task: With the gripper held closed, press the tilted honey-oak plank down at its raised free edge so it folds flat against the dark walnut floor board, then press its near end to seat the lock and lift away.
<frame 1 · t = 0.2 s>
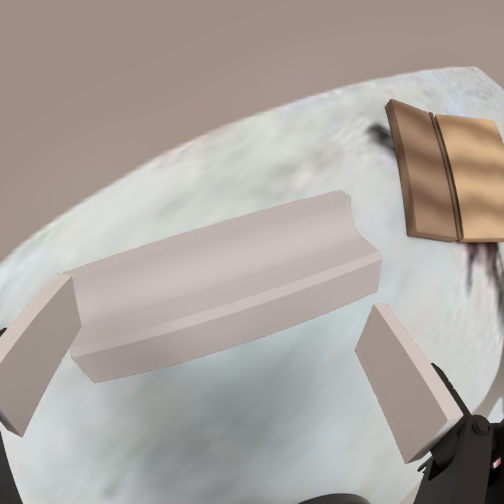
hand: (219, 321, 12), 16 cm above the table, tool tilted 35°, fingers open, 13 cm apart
oak plank: (482, 174, 31), point 4 cm above the table, hinge at 25.0°
crown molding: (220, 288, 28), on the table
walnut floor board: (420, 169, 33), on the table
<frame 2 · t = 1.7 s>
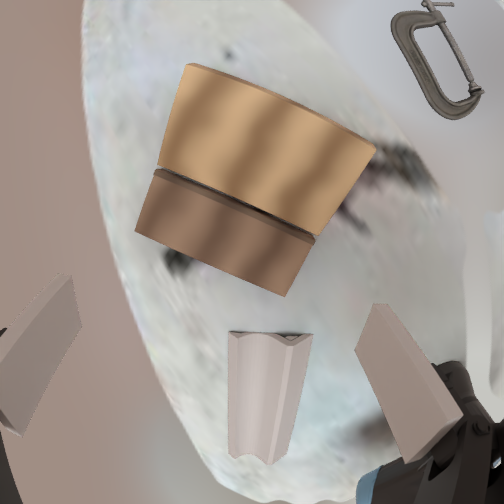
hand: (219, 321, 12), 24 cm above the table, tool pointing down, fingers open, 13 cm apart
oak plank: (260, 149, 28), point 4 cm above the table, hinge at 25.0°
c clamp: (442, 55, 27), on the table
crown molding: (264, 404, 44), on the table
walnut floor board: (223, 230, 35), on the table
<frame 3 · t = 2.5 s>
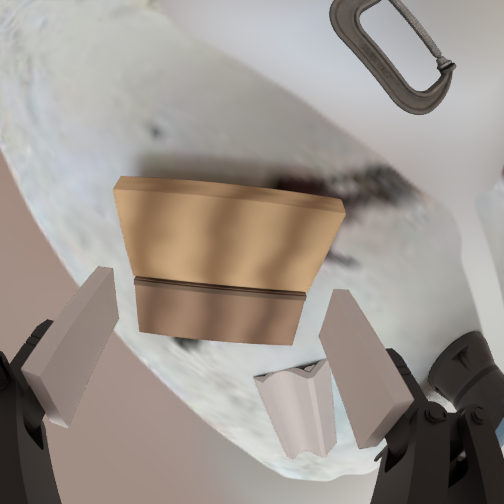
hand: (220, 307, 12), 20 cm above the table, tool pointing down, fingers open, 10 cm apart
oak plank: (224, 240, 28), point 4 cm above the table, hinge at 25.0°
c clamp: (399, 33, 24), on the table
crown molding: (303, 414, 48), on the table
walnut floor board: (218, 306, 36), on the table
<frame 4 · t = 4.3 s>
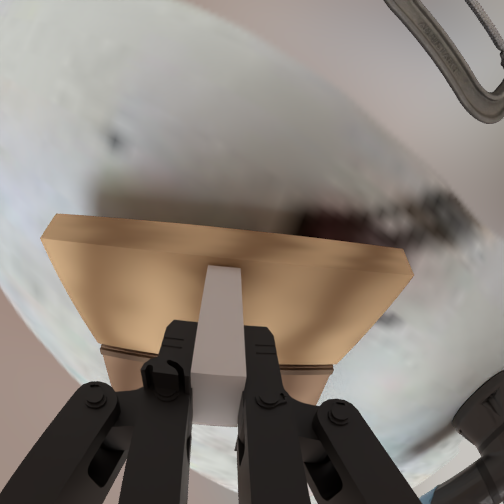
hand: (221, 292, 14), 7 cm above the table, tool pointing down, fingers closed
oak plank: (221, 310, 18), point 4 cm above the table, hinge at 23.4°, touching gripper
c clamp: (457, 15, 13), on the table
walnut floor board: (215, 377, 25), on the table
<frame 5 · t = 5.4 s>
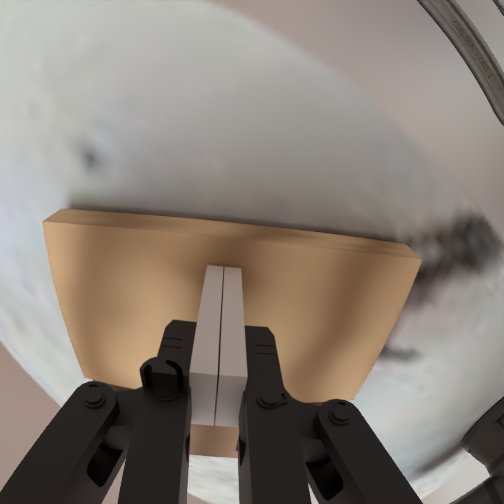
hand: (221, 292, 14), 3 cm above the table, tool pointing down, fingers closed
oak plank: (224, 328, 16), point 2 cm above the table, hinge at 4.2°, touching gripper
c clamp: (485, 14, 10), on the table
walnut floor board: (216, 418, 22), on the table
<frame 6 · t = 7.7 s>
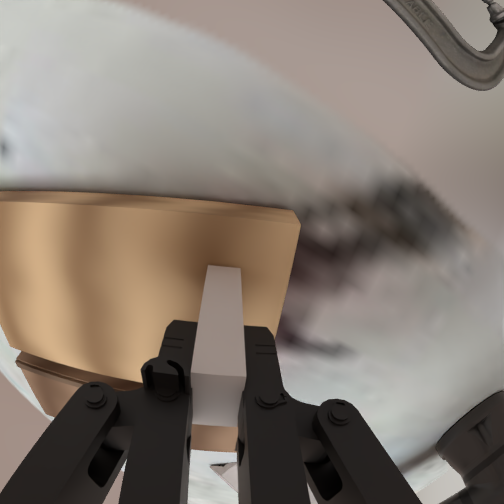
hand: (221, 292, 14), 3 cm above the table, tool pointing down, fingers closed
oak plank: (103, 299, 15), point 1 cm above the table, hinge at 3.1°, touching gripper
crown molding: (283, 488, 33), on the table
walnut floor board: (132, 400, 21), on the table
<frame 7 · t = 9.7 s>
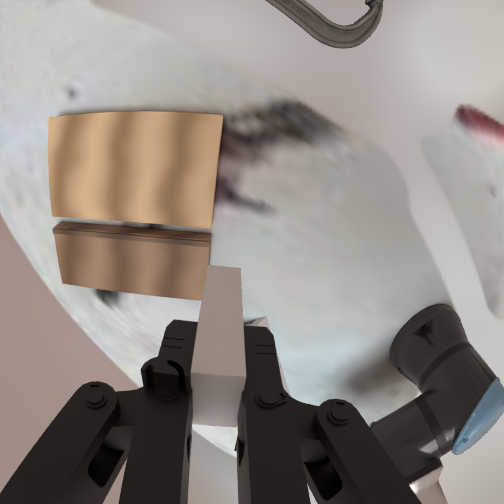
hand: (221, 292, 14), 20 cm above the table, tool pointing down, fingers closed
oak plank: (125, 166, 28), point 1 cm above the table, hinge at 2.0°
walnut floor board: (130, 257, 34), on the table
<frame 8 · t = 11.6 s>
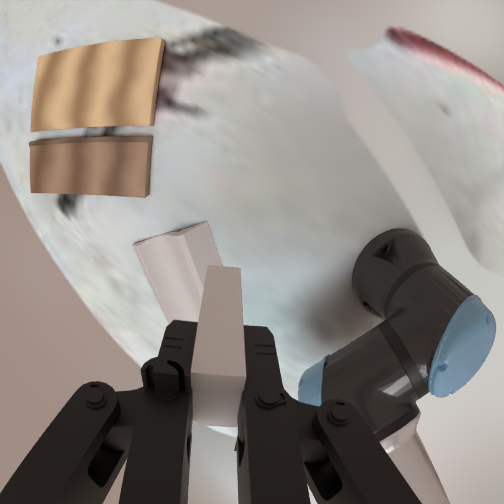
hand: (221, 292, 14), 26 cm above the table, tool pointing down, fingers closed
oak plank: (89, 85, 29), point 1 cm above the table, hinge at 2.0°
crown molding: (205, 316, 47), on the table
walnut floor board: (87, 164, 35), on the table
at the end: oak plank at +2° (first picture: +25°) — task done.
